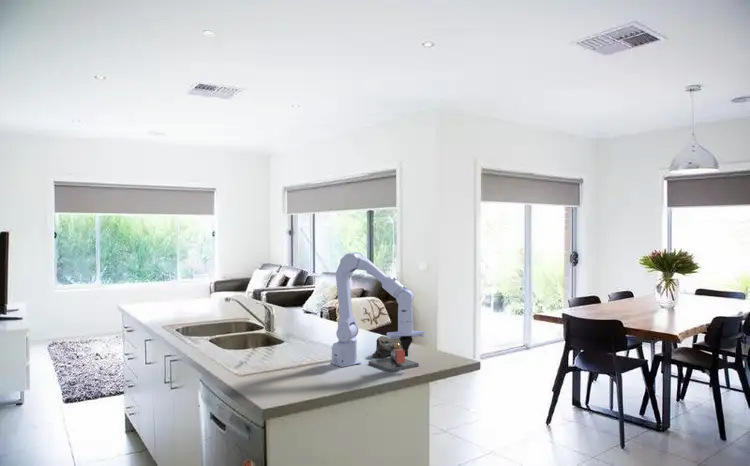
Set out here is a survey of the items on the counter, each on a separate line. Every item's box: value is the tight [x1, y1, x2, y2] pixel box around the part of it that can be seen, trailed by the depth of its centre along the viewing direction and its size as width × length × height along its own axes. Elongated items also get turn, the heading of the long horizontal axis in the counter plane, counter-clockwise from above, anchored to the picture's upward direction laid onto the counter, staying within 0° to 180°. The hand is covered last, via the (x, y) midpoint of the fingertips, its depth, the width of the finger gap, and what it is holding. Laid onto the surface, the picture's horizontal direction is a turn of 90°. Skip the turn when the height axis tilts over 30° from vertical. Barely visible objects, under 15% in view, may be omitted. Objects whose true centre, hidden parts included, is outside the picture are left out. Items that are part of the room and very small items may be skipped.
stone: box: [372, 335, 403, 359], centre depth 223 cm, size 18×9×10 cm
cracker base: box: [368, 343, 420, 373], centre depth 204 cm, size 14×14×7 cm
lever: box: [390, 349, 406, 363], centre depth 204 cm, size 12×3×5 cm, turn 12°
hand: (405, 356), depth 200 cm, fingers closed
